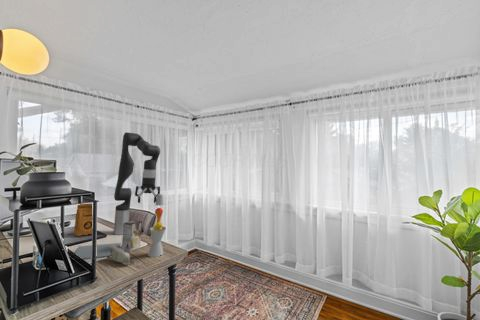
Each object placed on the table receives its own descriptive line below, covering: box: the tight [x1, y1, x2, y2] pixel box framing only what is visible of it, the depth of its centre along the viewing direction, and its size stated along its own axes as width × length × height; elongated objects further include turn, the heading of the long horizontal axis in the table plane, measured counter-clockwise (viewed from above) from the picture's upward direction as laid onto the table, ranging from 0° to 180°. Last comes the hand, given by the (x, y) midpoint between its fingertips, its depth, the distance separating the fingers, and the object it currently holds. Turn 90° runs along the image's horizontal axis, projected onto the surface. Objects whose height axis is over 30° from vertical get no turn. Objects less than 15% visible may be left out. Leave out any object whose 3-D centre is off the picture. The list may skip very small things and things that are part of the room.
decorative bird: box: [106, 243, 131, 267], centre depth 113 cm, size 5×16×8 cm, turn 62°
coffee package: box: [73, 203, 93, 237], centre depth 151 cm, size 10×12×22 cm
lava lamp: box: [147, 193, 167, 258], centre depth 126 cm, size 9×9×35 cm
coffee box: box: [121, 219, 143, 252], centre depth 132 cm, size 9×6×16 cm
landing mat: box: [74, 242, 122, 260], centre depth 124 cm, size 20×22×1 cm
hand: (146, 203), depth 133 cm, fingers open, 8 cm apart
